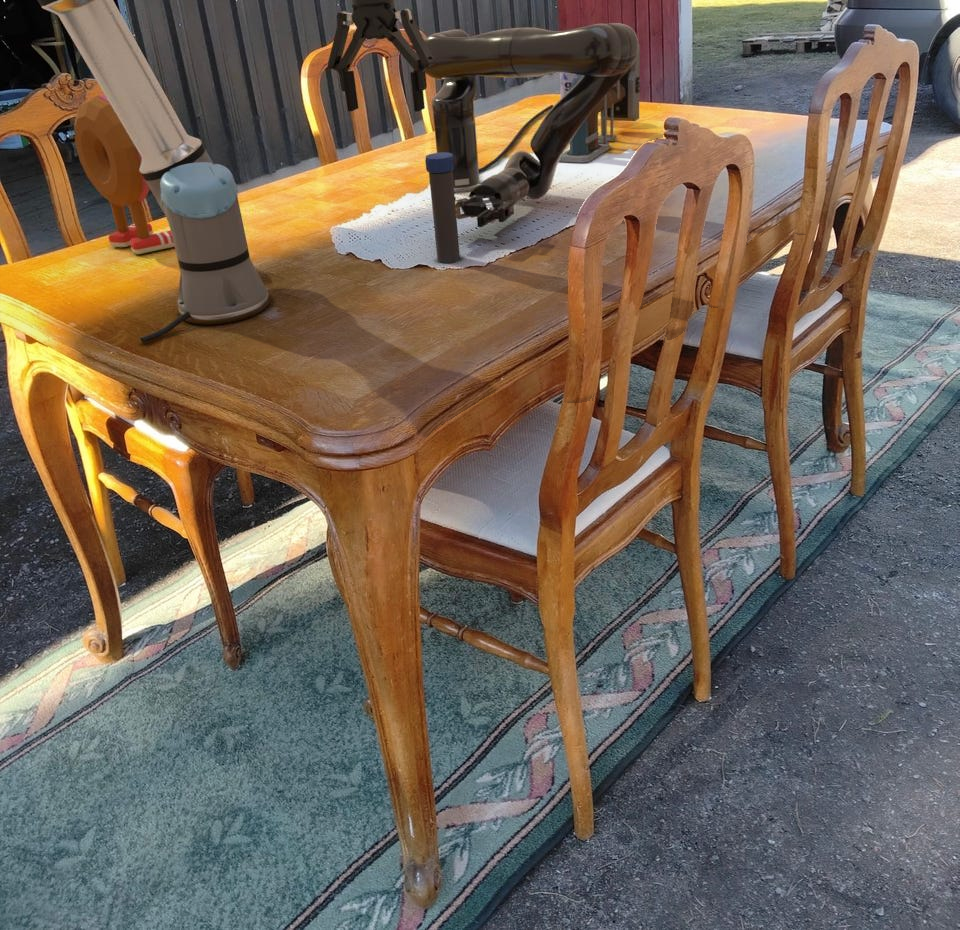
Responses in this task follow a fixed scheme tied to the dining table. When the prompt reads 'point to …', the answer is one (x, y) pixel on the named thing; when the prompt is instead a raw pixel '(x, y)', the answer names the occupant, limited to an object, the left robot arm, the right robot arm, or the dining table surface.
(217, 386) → the dining table surface
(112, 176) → the toy
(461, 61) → the right robot arm
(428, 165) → the lid
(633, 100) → the clamp
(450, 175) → the bottle
